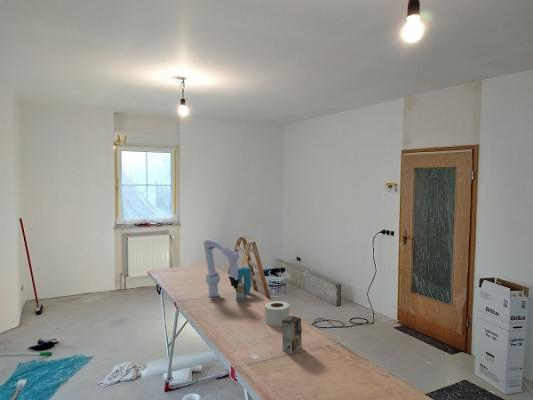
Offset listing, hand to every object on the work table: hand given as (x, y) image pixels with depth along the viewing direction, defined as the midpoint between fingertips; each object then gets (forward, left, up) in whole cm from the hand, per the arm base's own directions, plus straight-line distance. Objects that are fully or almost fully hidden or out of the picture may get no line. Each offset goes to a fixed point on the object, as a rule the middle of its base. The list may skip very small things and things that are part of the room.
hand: (234, 287), depth 285 cm
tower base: (0, +4, -10) cm, 11 cm away
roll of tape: (+47, +23, -11) cm, 53 cm away
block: (-18, +9, -11) cm, 22 cm away
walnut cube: (0, +4, -3) cm, 6 cm away
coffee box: (+87, +23, -11) cm, 91 cm away
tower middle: (0, +5, -7) cm, 8 cm away
